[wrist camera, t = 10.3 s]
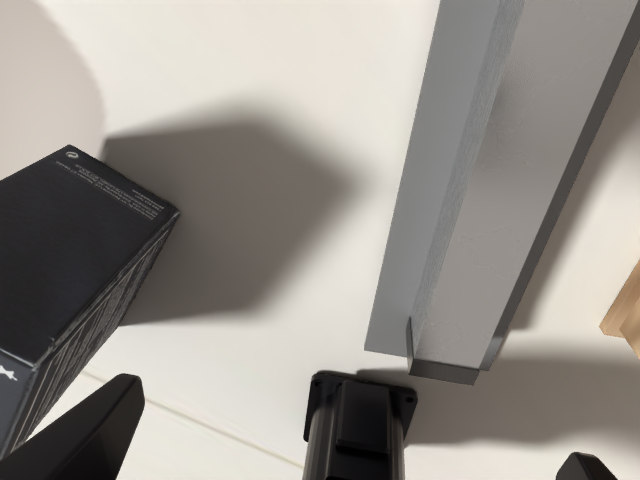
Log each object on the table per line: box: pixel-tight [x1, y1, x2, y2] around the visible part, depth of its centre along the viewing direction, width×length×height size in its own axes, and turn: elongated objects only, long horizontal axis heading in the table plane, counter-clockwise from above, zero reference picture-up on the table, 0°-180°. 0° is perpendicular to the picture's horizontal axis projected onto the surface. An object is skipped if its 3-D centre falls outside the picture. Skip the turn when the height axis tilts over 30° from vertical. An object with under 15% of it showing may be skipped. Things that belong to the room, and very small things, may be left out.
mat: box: [364, 0, 640, 371], centre depth 18 cm, size 26×7×1 cm, turn 174°
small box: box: [0, 145, 180, 460], centre depth 19 cm, size 11×6×10 cm, turn 146°
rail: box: [406, 0, 638, 385], centre depth 16 cm, size 22×3×3 cm, turn 174°
